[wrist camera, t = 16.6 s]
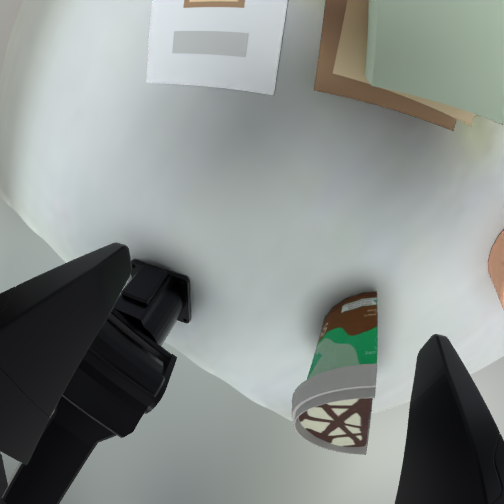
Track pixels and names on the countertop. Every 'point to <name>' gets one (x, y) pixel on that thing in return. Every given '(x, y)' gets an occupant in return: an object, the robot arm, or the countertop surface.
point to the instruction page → (216, 43)
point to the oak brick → (354, 57)
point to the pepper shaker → (497, 266)
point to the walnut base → (358, 89)
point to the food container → (341, 379)
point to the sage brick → (440, 52)
